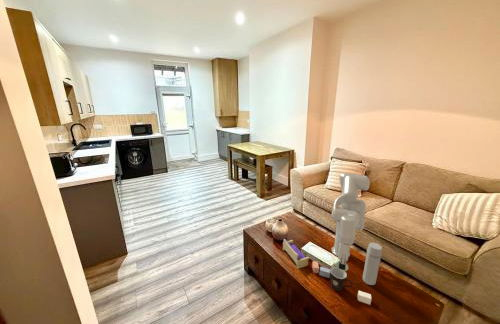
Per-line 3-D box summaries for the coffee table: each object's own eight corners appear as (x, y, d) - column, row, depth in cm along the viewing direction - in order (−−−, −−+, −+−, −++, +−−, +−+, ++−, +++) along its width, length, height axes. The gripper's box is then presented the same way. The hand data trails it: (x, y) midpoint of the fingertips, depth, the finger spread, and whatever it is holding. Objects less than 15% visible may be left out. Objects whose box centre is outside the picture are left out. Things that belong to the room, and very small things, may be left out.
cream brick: (357, 300, 112) (358, 294, 111) (357, 296, 114) (358, 290, 113) (370, 305, 109) (371, 299, 108) (369, 300, 112) (370, 294, 111)
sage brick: (334, 263, 113) (339, 260, 111) (334, 260, 116) (340, 257, 114) (342, 272, 112) (348, 269, 110) (342, 268, 115) (348, 265, 113)
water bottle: (374, 288, 119) (381, 252, 113) (360, 281, 124) (366, 245, 118) (378, 279, 126) (385, 244, 119) (364, 272, 131) (370, 239, 125)
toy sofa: (308, 266, 136) (309, 253, 134) (297, 269, 133) (298, 256, 131) (291, 247, 155) (292, 235, 153) (281, 249, 152) (282, 237, 150)
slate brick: (319, 275, 129) (319, 269, 128) (319, 271, 132) (320, 266, 131) (329, 278, 126) (329, 273, 125) (329, 274, 129) (330, 269, 128)
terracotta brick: (312, 266, 136) (312, 261, 135) (317, 266, 136) (317, 261, 135) (313, 272, 131) (313, 267, 130) (318, 273, 130) (319, 268, 129)
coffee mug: (325, 283, 123) (327, 269, 120) (336, 279, 126) (338, 265, 123) (340, 299, 112) (342, 284, 110) (352, 294, 115) (354, 280, 113)
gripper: (339, 228, 117) (336, 255, 122) (337, 244, 103) (333, 274, 108) (354, 232, 114) (350, 259, 118) (353, 249, 100) (348, 279, 104)
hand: (342, 266), depth 113 cm, fingers closed on sage brick, 3 cm apart
